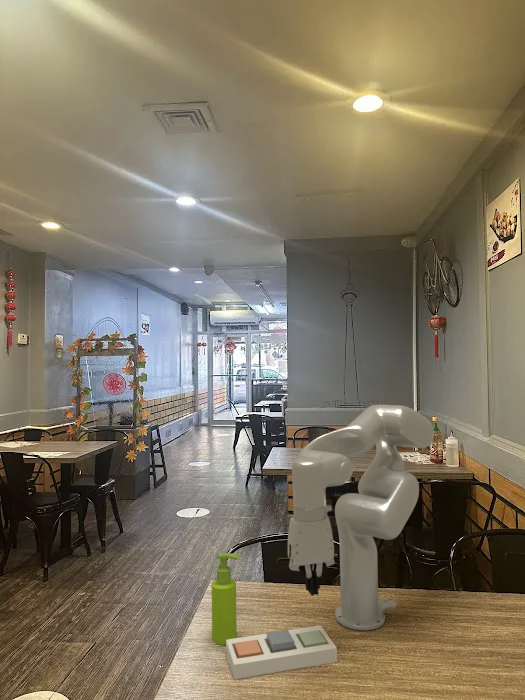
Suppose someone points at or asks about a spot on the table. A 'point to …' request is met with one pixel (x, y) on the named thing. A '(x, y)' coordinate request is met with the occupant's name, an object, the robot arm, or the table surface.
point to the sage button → (311, 639)
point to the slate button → (280, 641)
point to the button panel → (280, 655)
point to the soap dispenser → (224, 602)
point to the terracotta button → (247, 649)
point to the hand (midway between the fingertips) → (312, 592)
